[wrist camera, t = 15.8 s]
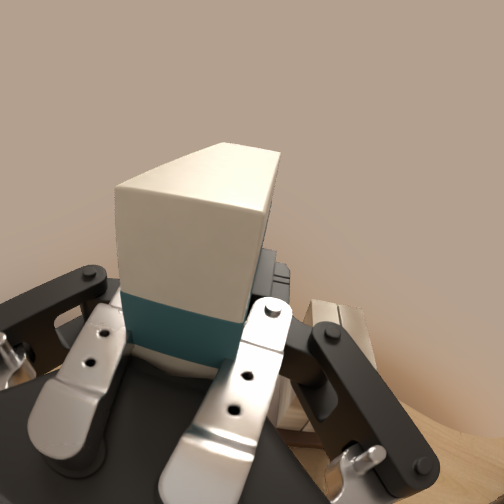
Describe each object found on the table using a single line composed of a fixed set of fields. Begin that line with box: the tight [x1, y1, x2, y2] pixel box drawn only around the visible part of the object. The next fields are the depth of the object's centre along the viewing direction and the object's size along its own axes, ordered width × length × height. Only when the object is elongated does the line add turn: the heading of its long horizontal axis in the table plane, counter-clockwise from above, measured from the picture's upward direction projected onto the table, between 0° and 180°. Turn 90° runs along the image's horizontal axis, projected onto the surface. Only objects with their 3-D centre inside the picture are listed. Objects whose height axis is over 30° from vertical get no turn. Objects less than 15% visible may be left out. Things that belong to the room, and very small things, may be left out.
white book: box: [115, 142, 281, 380], centre depth 10 cm, size 3×8×12 cm, turn 172°
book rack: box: [266, 299, 377, 448], centre depth 25 cm, size 22×11×13 cm, turn 82°
